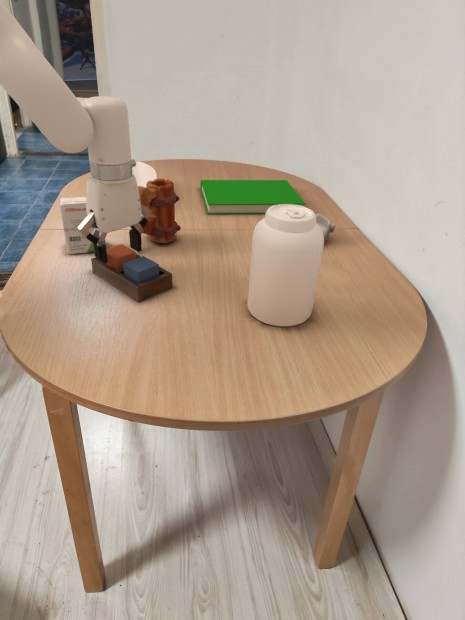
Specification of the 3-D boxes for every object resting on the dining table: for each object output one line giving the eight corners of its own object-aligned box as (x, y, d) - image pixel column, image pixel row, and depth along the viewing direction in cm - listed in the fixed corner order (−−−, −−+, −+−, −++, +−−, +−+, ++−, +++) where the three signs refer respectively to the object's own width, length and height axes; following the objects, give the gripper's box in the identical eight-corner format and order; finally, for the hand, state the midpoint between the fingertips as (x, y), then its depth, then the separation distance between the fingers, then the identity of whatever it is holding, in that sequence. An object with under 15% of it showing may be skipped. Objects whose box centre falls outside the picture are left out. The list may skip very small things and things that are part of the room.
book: (304, 213, 132) (305, 203, 130) (208, 214, 127) (208, 204, 126) (285, 188, 150) (286, 179, 149) (200, 188, 146) (200, 179, 144)
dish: (337, 238, 118) (340, 220, 115) (309, 254, 108) (312, 235, 106) (290, 222, 125) (292, 205, 122) (260, 237, 116) (262, 218, 113)
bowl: (160, 212, 127) (159, 190, 124) (105, 213, 124) (102, 191, 121) (155, 179, 151) (154, 160, 148) (108, 179, 149) (106, 161, 145)
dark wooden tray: (138, 302, 87) (137, 287, 85) (92, 272, 96) (90, 258, 94) (172, 287, 92) (172, 273, 91) (126, 260, 101) (124, 247, 99)
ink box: (104, 242, 109) (98, 194, 102) (106, 251, 105) (101, 202, 98) (66, 246, 106) (58, 197, 100) (67, 255, 102) (59, 204, 96)
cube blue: (139, 292, 89) (138, 272, 86) (124, 283, 91) (122, 263, 89) (159, 284, 92) (158, 264, 89) (144, 275, 95) (143, 255, 92)
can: (324, 312, 87) (343, 213, 76) (281, 336, 80) (296, 231, 69) (276, 286, 95) (287, 193, 84) (233, 307, 87) (239, 207, 76)
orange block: (117, 278, 93) (115, 258, 90) (103, 269, 96) (101, 250, 93) (137, 271, 96) (136, 251, 93) (123, 262, 99) (121, 243, 96)
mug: (159, 229, 117) (157, 171, 109) (186, 236, 114) (185, 177, 106) (122, 250, 106) (117, 186, 97) (151, 258, 103) (148, 194, 94)
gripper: (137, 158, 92) (142, 238, 101) (57, 173, 81) (71, 261, 91) (160, 166, 88) (164, 249, 97) (80, 184, 77) (92, 275, 86)
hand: (119, 254), depth 94 cm, fingers open, 7 cm apart
